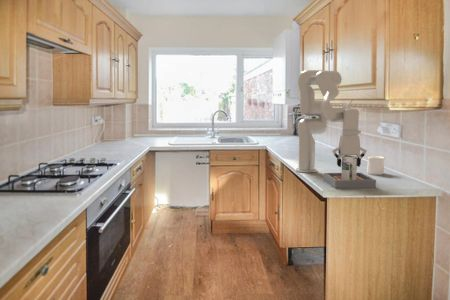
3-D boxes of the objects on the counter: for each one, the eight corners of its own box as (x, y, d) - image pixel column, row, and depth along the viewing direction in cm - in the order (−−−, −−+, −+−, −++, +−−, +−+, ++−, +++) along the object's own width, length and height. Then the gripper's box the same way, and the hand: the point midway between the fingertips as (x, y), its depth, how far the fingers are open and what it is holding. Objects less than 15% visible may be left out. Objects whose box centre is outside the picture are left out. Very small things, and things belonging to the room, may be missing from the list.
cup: (370, 175, 234) (371, 158, 232) (363, 172, 244) (364, 155, 242) (386, 175, 234) (387, 158, 233) (379, 171, 244) (380, 155, 243)
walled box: (324, 180, 220) (324, 172, 219) (360, 179, 220) (361, 172, 220) (335, 188, 200) (335, 180, 199) (375, 187, 201) (375, 179, 200)
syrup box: (340, 183, 210) (341, 156, 209) (346, 182, 215) (347, 154, 213) (350, 185, 206) (351, 157, 205) (356, 183, 210) (357, 155, 209)
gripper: (364, 132, 211) (362, 164, 213) (331, 132, 210) (329, 165, 213) (369, 133, 204) (368, 167, 206) (335, 133, 203) (334, 167, 205)
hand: (348, 166), depth 209 cm, fingers open, 9 cm apart
